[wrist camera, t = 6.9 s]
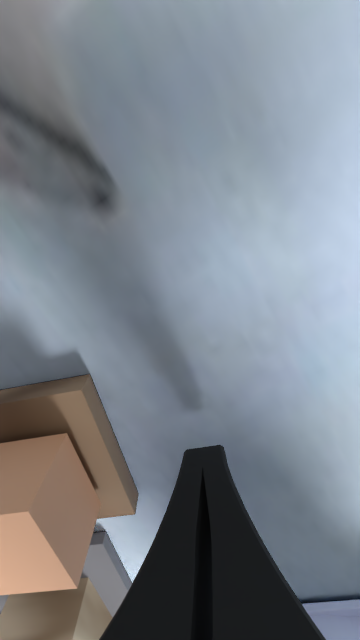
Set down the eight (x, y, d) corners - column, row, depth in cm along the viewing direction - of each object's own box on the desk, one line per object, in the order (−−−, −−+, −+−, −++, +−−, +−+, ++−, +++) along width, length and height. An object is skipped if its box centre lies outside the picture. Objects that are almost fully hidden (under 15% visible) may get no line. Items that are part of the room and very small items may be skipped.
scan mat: (105, 531, 16) (102, 543, 16) (153, 626, 20) (152, 639, 20) (-154, 560, 18) (-165, 572, 17) (-63, 642, 22) (-69, 654, 21)
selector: (66, 433, 12) (27, 511, 9) (101, 503, 13) (77, 588, 10) (-29, 447, 12) (-94, 526, 9) (15, 513, 14) (-29, 598, 11)
